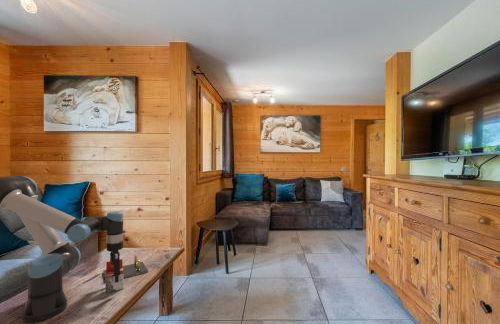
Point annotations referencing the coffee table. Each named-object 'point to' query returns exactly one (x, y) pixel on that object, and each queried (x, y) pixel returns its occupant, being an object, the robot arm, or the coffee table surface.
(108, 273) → the ink box
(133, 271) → the plate
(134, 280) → the coffee table surface
